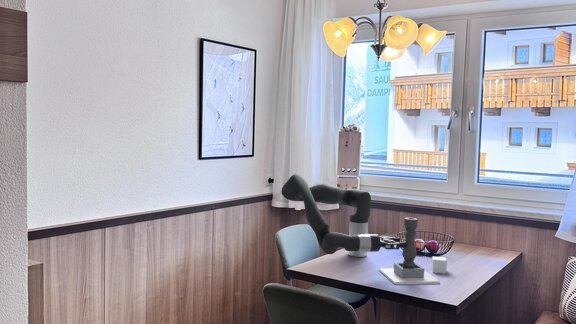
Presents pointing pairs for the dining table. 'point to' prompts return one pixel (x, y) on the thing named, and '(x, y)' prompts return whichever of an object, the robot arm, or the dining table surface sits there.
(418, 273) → the collar board
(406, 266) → the candle holder
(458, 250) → the dining table surface
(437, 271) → the white cube
